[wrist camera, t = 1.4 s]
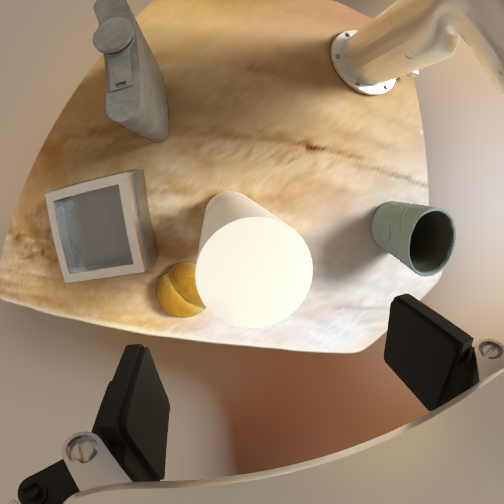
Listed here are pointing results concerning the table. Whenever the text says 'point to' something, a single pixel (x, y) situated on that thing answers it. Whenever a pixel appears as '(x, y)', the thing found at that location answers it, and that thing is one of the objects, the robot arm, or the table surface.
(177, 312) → the bread roll
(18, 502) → the robot arm
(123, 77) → the hip flask
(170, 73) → the table surface
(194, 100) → the table surface
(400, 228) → the green cup
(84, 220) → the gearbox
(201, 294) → the cylindrical container
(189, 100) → the table surface
